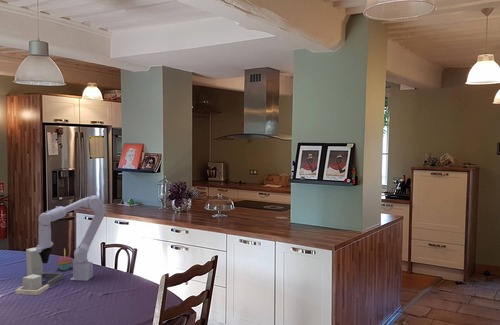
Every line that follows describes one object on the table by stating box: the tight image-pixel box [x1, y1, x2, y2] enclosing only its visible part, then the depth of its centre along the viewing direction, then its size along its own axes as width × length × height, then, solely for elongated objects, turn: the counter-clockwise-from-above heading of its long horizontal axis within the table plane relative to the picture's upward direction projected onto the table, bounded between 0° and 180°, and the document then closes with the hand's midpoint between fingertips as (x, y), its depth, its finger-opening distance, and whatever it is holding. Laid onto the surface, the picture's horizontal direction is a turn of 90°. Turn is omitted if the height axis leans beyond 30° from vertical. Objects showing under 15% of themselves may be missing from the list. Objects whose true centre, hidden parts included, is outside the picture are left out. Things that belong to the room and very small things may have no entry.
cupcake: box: [56, 248, 74, 271], centre depth 250 cm, size 9×8×12 cm
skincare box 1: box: [25, 246, 44, 276], centre depth 236 cm, size 8×6×15 cm
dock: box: [40, 272, 64, 288], centre depth 228 cm, size 11×15×2 cm
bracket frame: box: [14, 283, 50, 296], centre depth 214 cm, size 11×10×2 cm
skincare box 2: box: [22, 274, 43, 290], centre depth 213 cm, size 6×6×7 cm
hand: (45, 263), depth 228 cm, fingers closed
